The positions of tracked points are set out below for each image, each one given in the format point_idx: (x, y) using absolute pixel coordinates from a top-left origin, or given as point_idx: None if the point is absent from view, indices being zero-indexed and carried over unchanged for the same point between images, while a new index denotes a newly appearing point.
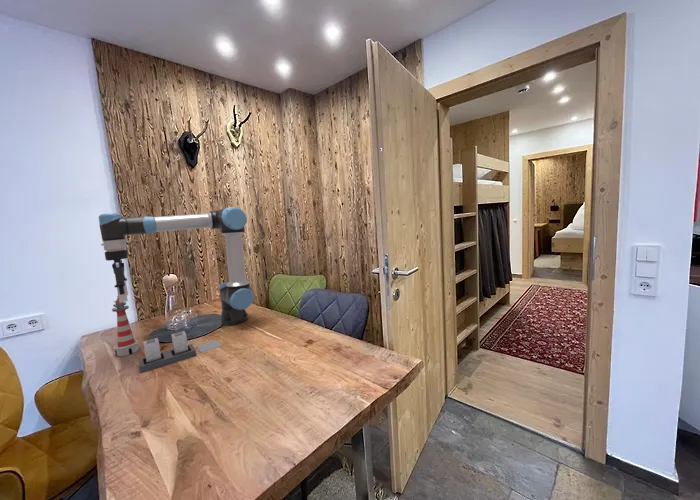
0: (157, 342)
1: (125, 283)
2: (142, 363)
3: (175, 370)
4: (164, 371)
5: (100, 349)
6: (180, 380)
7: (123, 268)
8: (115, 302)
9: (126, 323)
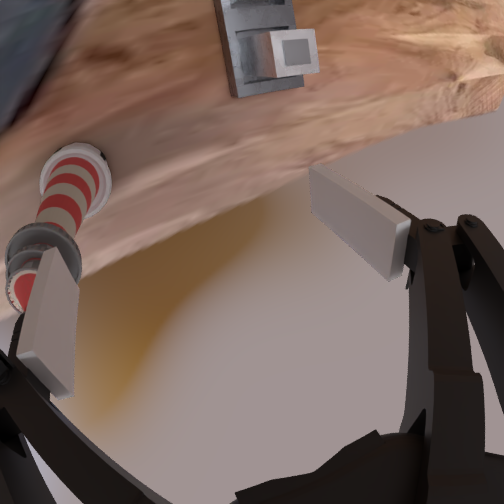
0: (313, 32)
1: (37, 333)
2: (283, 81)
3: (326, 9)
4: None
5: None
6: (378, 10)
7: (481, 422)
8: None
9: (68, 201)
